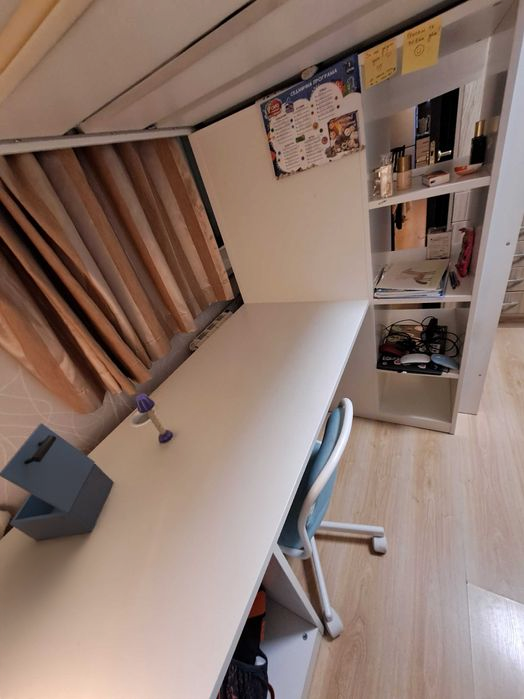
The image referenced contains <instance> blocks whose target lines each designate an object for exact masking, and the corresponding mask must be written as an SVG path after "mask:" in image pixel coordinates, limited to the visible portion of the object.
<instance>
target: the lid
mask: <svg viewBox="0 0 524 699" xmlns="http://www.w3.org/2000/svg"><path fill="white" fill-rule="evenodd" d="M94 464H96V461H94V460H93V459H92V458H91V457H89V456H87V455H86V454H85V453H84V452H82V451H81V450H80V449H78V448H77V447H75V446H74V445H73V444H71V443H70V442H69V441H67V440H66V439H64V438H63V437H62V436H60V435H59V434H58V433H56V432H55V431H54V430H52V429H50V428H49V427H48V426H46V425H45V424H44V423H42V422H41V423H39V424H38V425H37V426H36V428H35V429H34V430H33V432H32V433H31V434H30V435H29V436H28V438H26V439H25V441H24V443H23V444H22V445H21V446H20V447H19V448H18V449H17V451H16V452H15V453H14V455H13V456H12V457H11V458H10V460H9V461H8V462H7V463H6V464H5V466H4V467H3V468H2V470H1V471H0V477H1V478H2V479H5V480H6V481H8V482H10V483H12V484H13V485H15V486H17V487H19V488H20V489H22V490H23V491H25V492H27V493H29V494H30V493H31V494H33V495H34V496H36V497H38V498H40V499H41V500H43V501H45V502H47V503H48V504H50V505H52V506H54V507H56V508H57V509H59V510H61V511H63V512H64V513H68V512H69V510H70V508H71V507H72V505H73V503H74V501H75V499H76V497H77V495H78V493H79V492H80V490H81V488H82V486H83V484H84V482H85V480H86V478H87V476H88V475H89V473H90V471H91V469H92V467H93V465H94Z"/></svg>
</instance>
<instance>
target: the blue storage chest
mask: <svg viewBox="0 0 524 699" xmlns="http://www.w3.org/2000/svg"><path fill="white" fill-rule="evenodd" d="M114 483H115V482H114V481H113V480H112V478H111V477H110V476H108V475H107V474H106V473H105V472H104V471H103V470H102V469H101V468H100V466H98V465H97V464H96V463H94V465H93V467H92V469H91V471H90V473H89V475H88V476H87V478H86V480H85V482H84V484H83V486H82V488H81V490H80V492H79V493H78V495H77V497H76V499H75V501H74V503H73V505H72V507H71V508H70V510H69V512H68V513H64V512H63V511H61V510H59V509H57V508H56V507H54V506H52V505H50V504H48V503H47V502H45V501H43V500H41V499H40V498H38V497H36V496H34V495H33V494H31V493H29V494H28V496H27V497H26V499H25V500H24V502H23V503H22V504H21V506H20V508H19V509H18V511H17V512H16V513H15V515H14V517H13V518H12V520H11V521H10V523H9V525H10V526H12V527H13V528H15V529H16V530H18V531H20V532H21V533H23V534H24V535H26V536H27V537H29V538H31V539H32V540H34V541H35V542H38V541H44V540H50V539H51V540H52V539H56V538H64V537H69V536H75V535H83V534H88V533H93V531H94V528H95V526H96V523H97V521H98V519H99V518H100V515H101V512H102V510H103V508H104V506H105V503H106V501H107V499H108V496H109V494H110V492H111V490H112V487H113V485H114Z"/></svg>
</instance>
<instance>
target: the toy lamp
mask: <svg viewBox="0 0 524 699" xmlns="http://www.w3.org/2000/svg"><path fill="white" fill-rule="evenodd" d="M134 401H135V405H136V408H137V411H138V413H139V414H146V415H147V416H148V417H149V419H150V421H151V423H152V424H153V425H154V427H155V428H156V430H157V432H158V433H159V434H158V442H160V443H161V444H162V443H167V442H168V441H170V440H171V439H172V437H173V432H172V431H171V430H170V429H165V428H164V426H163V425H162V423H161V421H160V420H159V418H158V417H157V414H155V412H154V410H153V409H154V407H155V404H156V402H155V401H154V400H153V399H152V398H151V397H150V396H148V395H147V394H145V393H140V394H139V395H137V396H136V397H135V400H134Z"/></svg>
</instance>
